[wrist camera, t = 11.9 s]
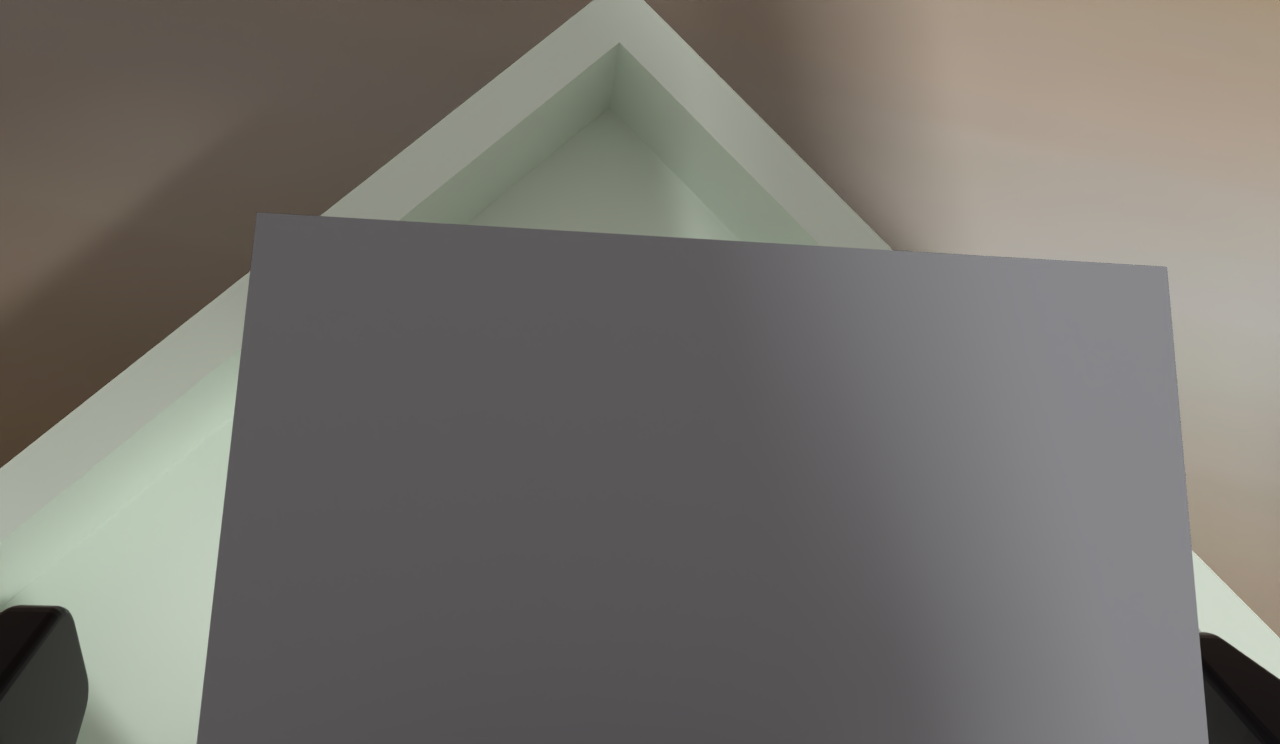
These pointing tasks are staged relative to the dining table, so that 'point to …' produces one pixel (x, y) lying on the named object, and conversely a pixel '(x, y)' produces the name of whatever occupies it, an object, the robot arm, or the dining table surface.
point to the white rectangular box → (698, 495)
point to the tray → (418, 192)
